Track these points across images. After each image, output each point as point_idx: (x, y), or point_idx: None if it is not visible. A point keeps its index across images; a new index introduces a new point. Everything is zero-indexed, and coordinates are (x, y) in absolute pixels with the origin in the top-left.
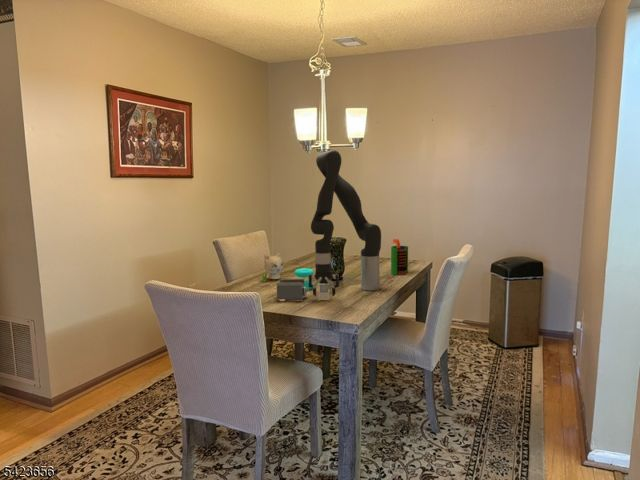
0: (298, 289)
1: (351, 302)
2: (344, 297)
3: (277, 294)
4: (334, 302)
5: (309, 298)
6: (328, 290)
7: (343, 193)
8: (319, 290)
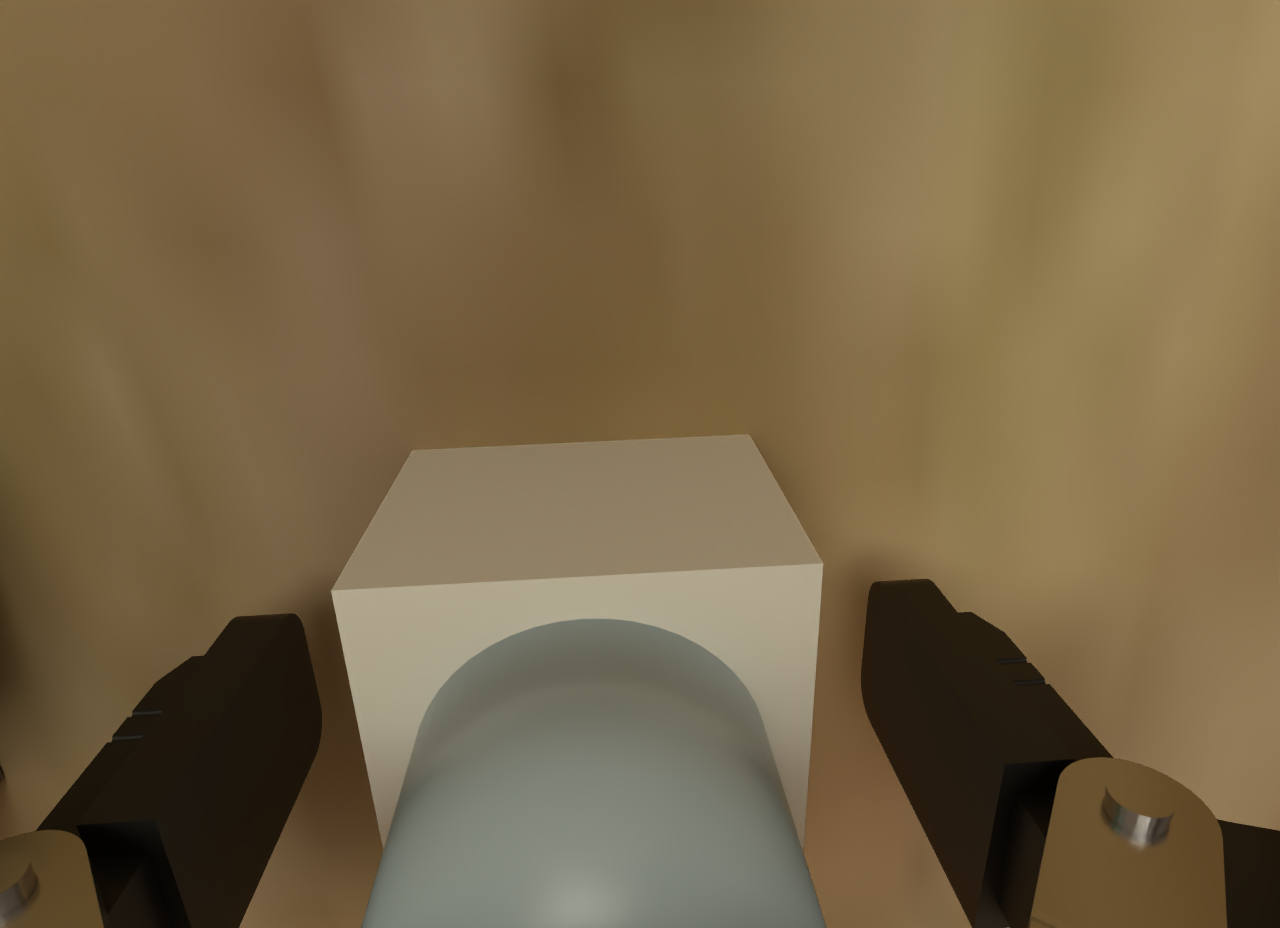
0: None
1: (1271, 789)
2: (1203, 363)
3: None
4: (876, 815)
5: (92, 513)
6: (768, 657)
7: None
8: (364, 674)
